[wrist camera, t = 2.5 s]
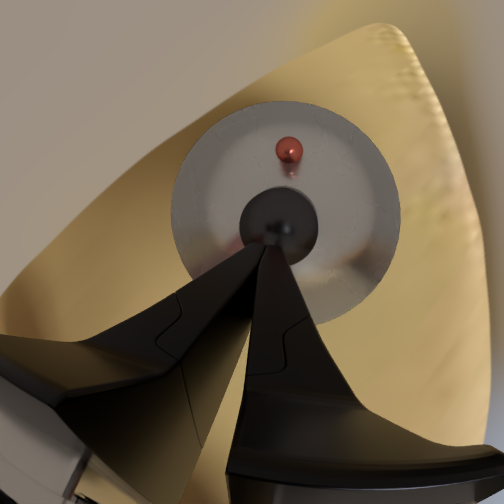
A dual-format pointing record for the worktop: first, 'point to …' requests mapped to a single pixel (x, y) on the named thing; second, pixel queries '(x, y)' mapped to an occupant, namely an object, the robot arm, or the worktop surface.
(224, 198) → the cooker lid
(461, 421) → the worktop surface
